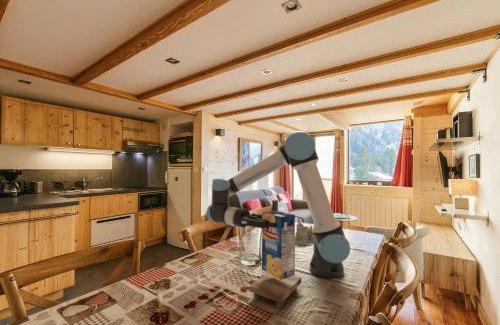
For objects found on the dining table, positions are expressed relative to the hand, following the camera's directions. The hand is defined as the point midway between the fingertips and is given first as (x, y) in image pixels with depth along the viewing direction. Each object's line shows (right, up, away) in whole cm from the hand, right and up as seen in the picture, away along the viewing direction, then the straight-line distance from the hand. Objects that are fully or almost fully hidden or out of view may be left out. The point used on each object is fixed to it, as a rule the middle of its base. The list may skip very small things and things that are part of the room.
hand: (289, 224), depth 88 cm
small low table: (-5, -27, +2) cm, 27 cm away
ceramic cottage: (+21, -29, +67) cm, 76 cm away
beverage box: (-4, -19, +3) cm, 19 cm away
